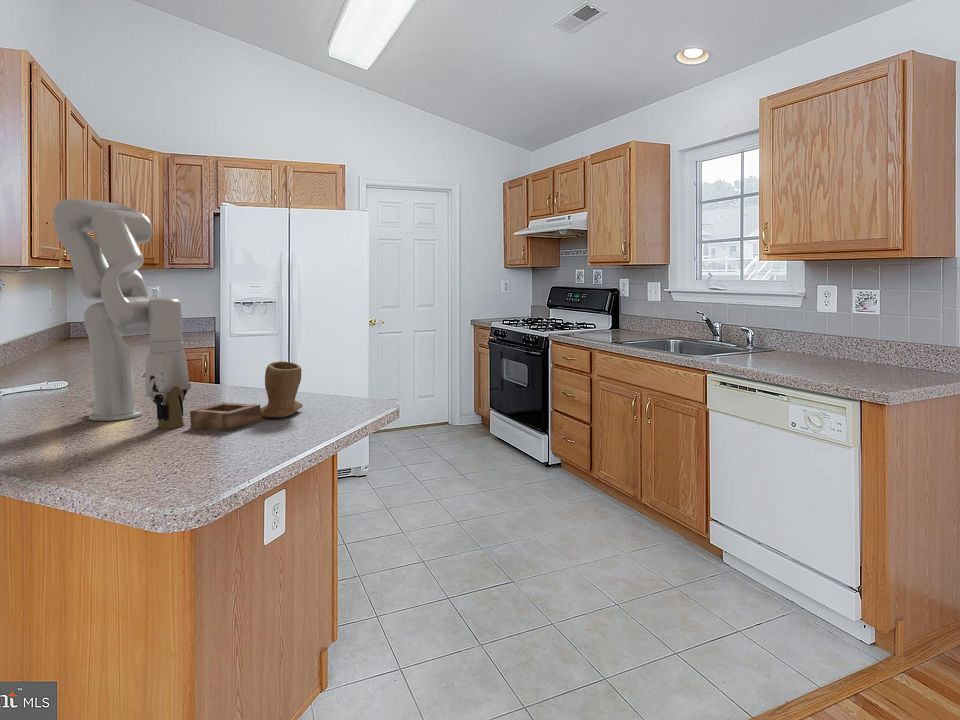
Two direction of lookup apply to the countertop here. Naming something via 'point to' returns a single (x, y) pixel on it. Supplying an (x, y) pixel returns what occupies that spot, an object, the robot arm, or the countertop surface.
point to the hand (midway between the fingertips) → (170, 417)
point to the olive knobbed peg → (172, 411)
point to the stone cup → (281, 389)
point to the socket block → (225, 416)
